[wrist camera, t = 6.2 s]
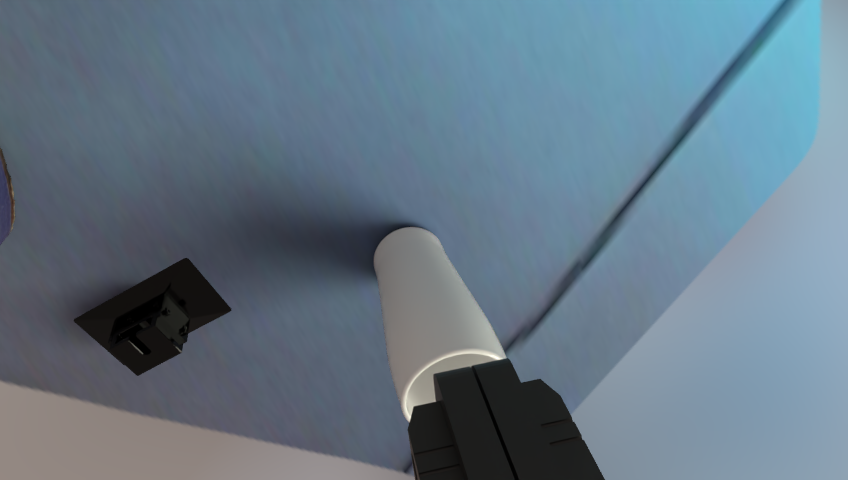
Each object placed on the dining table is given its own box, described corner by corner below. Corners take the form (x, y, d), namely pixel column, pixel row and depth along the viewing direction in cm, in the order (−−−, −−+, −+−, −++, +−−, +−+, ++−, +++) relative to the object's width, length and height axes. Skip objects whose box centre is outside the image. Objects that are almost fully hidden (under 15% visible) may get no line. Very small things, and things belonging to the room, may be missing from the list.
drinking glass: (343, 256, 47) (374, 404, 35) (411, 197, 46) (469, 328, 34) (402, 304, 51) (449, 454, 39) (467, 251, 50) (538, 387, 37)
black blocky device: (198, 236, 45) (193, 273, 41) (257, 305, 49) (257, 345, 45) (47, 317, 45) (28, 361, 42) (117, 379, 50) (105, 424, 46)
